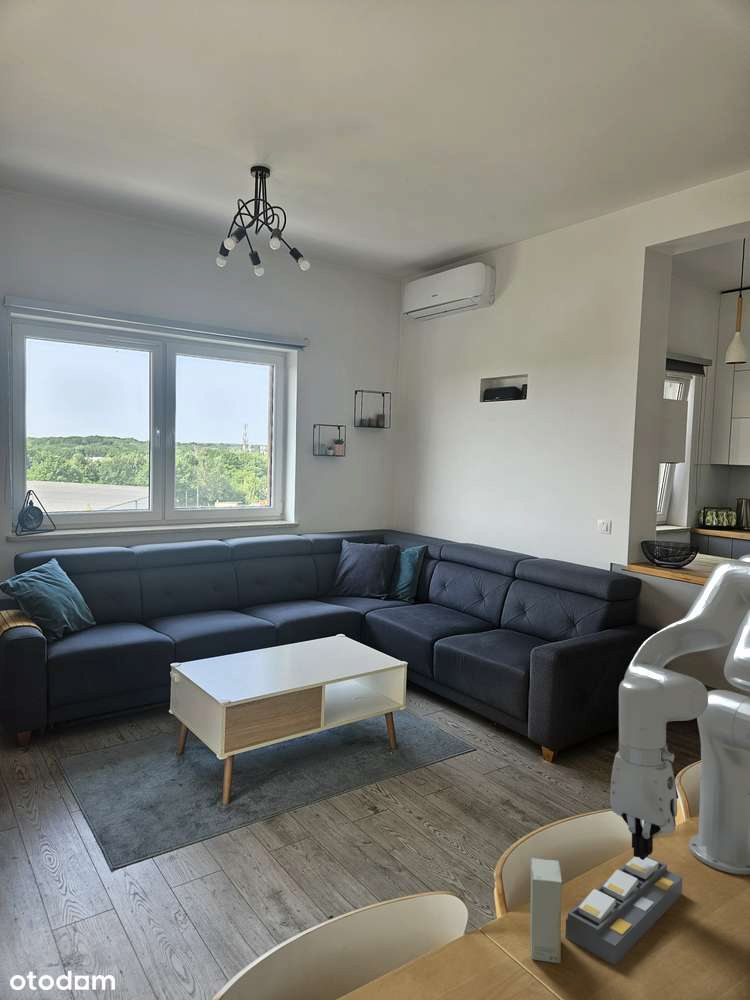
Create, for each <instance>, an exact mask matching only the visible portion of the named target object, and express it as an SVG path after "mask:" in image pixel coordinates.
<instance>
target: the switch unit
mask: <svg viewBox="0 0 750 1000" xmlns="http://www.w3.org/2000/svg"><path fill="white" fill-rule="evenodd" d="M647 858H649V859H652V860H654V861H656V862H658V869H657V870H656V871H654V872H653V873H652V874H651V875H650V876H649V877H648V878H647V879H644V878H641V877H639V876H637V875H635V874H633V873H631V872H628V871H626V870H625V864H627V863H628V862H627V863H625V864H624V865H623V866H622V867H620V868H619V869H618V870H620V871H622V872H624V873H626V874H629V875H631V876H633V877H635V878H637V879H638V885H637V886H636V887H635V889H634V890H633V891H632V893H631V894H630V895H629V897H628V898H627V899H626V900H625V901H622V900H620V899H618V898H616V897H614V896H612V895H609V894H607V893H605V892H603V886H604V884H605V883H606V882H607V881H608V880H609V878H608V879H606V880H605V881H604V882H603V883H601V884H600V885H599V886H598V887H597V888H596V890H598V891H600V892H602V893H604V894H606V895H608V896H610V897H612V898H614V899H615V903H616V905H615V906H614V908H613V909H612V910H611V911H610V913H609V914H608V915H607V917H606V918H605V919H604V920H603V922H602V923H601V924H599V923H597V922H595V921H593V920H591V919H590V918H588V917H586V916H584V915H582V914H580V913H579V906H580V905H581V904H582V902H583V901H584V900H585V899H586V898H587V896H586V897H585V898H584V899H583V900H582V901H580V902H579V903H578V904H577V905H576V906H574V908H572V909H571V910H570V911H568V913H567V917H566V918H565V938H566V939H568V940H570V941H571V942H573V943H575V944H576V945H578V946H580V948H583V949H585V950H586V949H587V950H586V951H588V950H589V951H588V952H590V953H592V954H593V953H594V955H595V956H597V957H599V958H600V957H601V958H600V959H602V960H603V961H605V960H606V962H607V963H609V964H610V965H613V966H616V965H617V964H618V962H620V960H621V959H622V958H623V957H624V956H625V955H626V954H627V953H628V952H629V951H630V950H631V949H632V948H633V946H634V945H636V943H637V942H638V941H639V940H640V939H641V938H642V937H643V936H644V935H645V934H646V933H647V932H648V931H649V930H650V929H651V928H652V927H653V925H654V924H655V923H656V922H658V920H659V919H660V918H661V917H662V916H663V915H664V914H665V913H666V912H667V911H668V909H669V908H670V907H672V905H674V903H675V902H676V901H677V900H678V899H679V898H681V896H682V895H683V876H681V875H678V874H677V873H674V872H671V871H669V870H668V869H667V868H668V864H666V863H664V862H661V861H659V860H657V859H654V858H653V857H650V856H649V855H648V856H647Z"/></svg>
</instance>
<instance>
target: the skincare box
mask: <svg viewBox="0 0 750 1000" xmlns="http://www.w3.org/2000/svg"><path fill="white" fill-rule="evenodd" d="M562 883H563V881H562V873H561V867H560V862H559V860H556V859H549V858H547V859H546V858H540V857H530V910H529V911H530V915H529V917H530V919H529V920H530V922H529V923H530V924H529V925H530V927H529V929H530V932H529V934H530V936H529V937H530V940H529V941H530V957H531V959H532V960H534V961H535V960H536V961H541V962H546V963H547V962H548V963H555V964H561V961H562V960H561V959H562V956H561V955H562V952H561V950H562V947H561V946H562V886H563V885H562Z"/></svg>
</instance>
